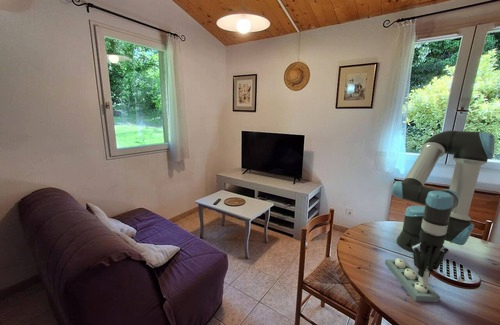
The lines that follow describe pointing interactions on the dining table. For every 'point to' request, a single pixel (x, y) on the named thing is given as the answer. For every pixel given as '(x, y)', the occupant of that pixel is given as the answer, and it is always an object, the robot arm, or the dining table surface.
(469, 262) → the dining table surface
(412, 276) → the button
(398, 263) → the button
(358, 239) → the dining table surface
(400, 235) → the robot arm
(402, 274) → the button board
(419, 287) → the button
